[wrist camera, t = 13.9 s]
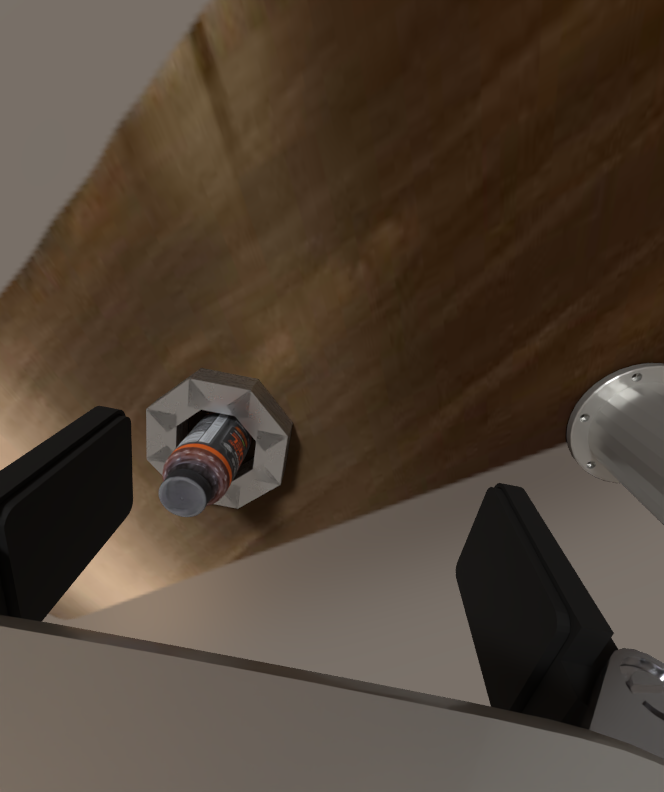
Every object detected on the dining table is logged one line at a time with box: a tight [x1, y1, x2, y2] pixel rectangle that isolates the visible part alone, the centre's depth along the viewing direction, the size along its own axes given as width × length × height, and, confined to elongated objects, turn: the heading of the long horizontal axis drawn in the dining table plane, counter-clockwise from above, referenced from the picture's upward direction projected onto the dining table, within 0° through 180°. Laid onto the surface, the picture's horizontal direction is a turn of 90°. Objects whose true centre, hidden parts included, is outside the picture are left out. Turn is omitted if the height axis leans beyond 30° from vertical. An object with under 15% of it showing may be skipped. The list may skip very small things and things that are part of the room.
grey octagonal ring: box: [146, 368, 293, 509], centre depth 41 cm, size 14×14×4 cm
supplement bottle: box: [159, 412, 251, 517], centre depth 37 cm, size 6×6×11 cm
